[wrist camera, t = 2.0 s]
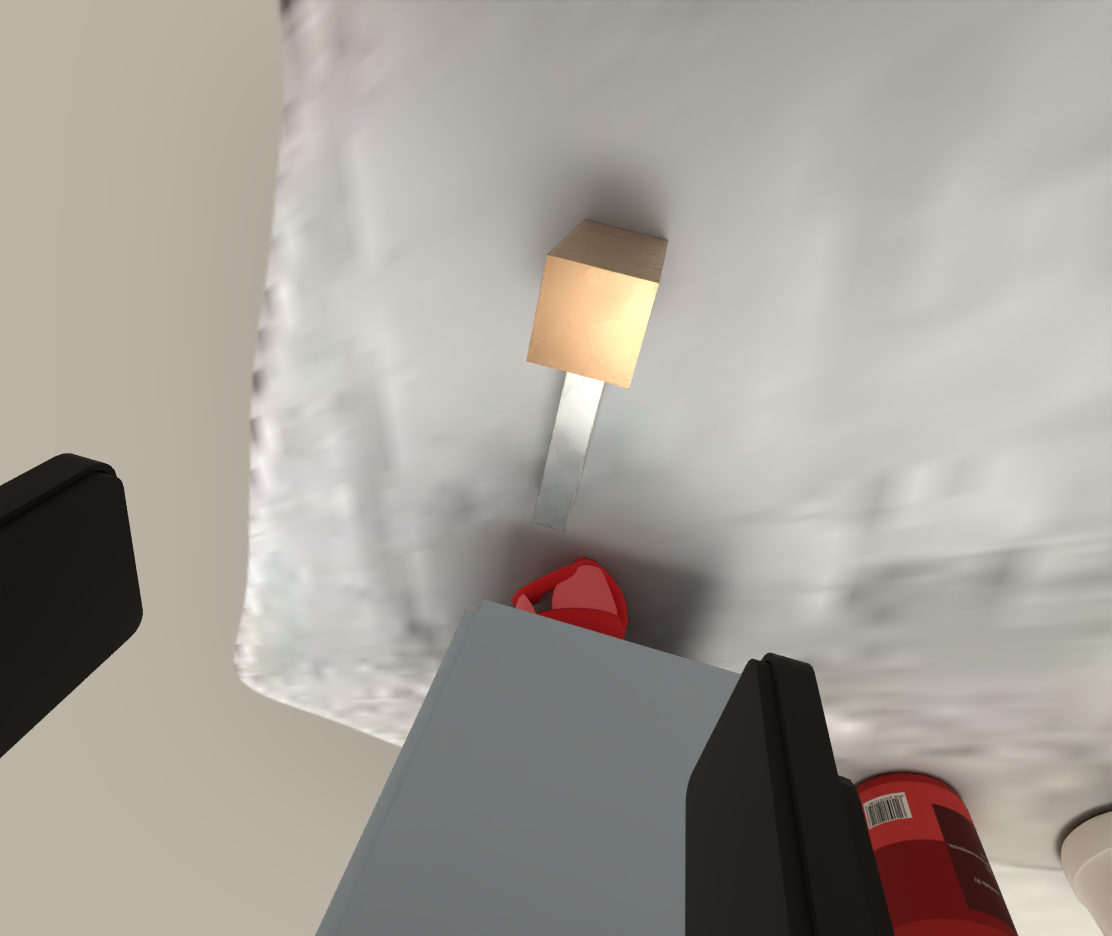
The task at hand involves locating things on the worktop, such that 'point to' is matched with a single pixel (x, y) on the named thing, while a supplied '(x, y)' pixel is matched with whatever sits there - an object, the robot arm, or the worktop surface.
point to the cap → (579, 598)
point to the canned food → (931, 859)
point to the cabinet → (537, 790)
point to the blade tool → (589, 340)
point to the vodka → (1091, 867)
